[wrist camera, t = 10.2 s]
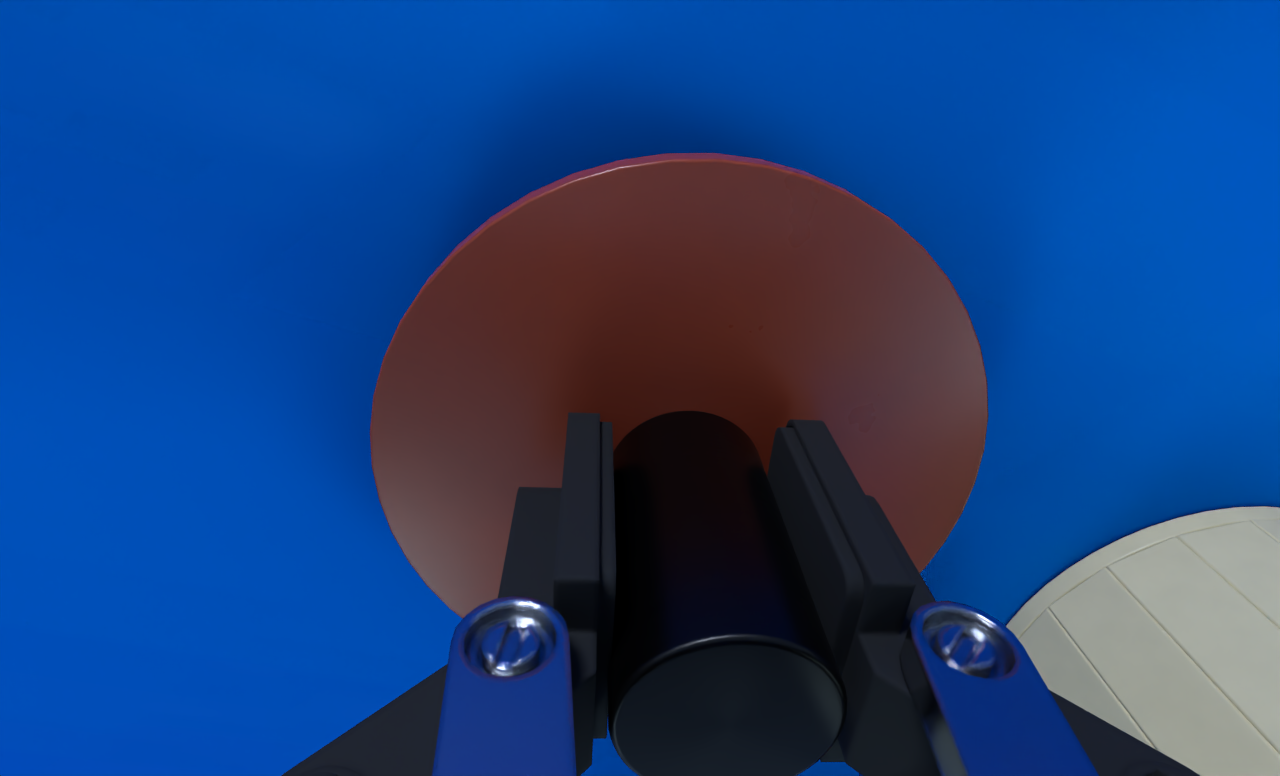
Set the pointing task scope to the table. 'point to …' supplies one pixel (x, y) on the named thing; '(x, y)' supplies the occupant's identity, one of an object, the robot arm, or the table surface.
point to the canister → (1173, 638)
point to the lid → (683, 425)
